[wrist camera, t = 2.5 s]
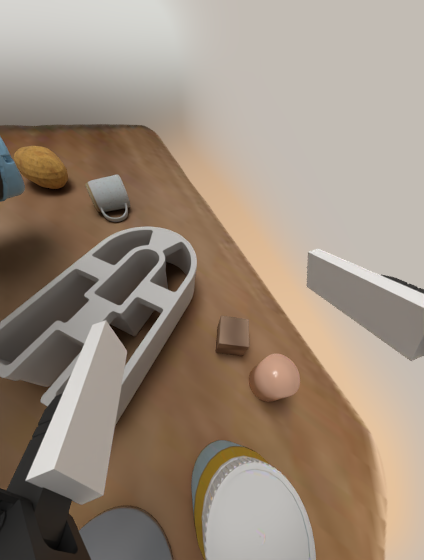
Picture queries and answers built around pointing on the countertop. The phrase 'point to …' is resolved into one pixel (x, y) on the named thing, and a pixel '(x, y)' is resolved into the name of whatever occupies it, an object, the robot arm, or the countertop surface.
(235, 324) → the walnut block
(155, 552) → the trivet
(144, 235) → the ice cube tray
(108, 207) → the ceramic mug
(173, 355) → the countertop surface
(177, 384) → the countertop surface
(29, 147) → the potato
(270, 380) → the pink rounded block
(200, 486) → the bottle
